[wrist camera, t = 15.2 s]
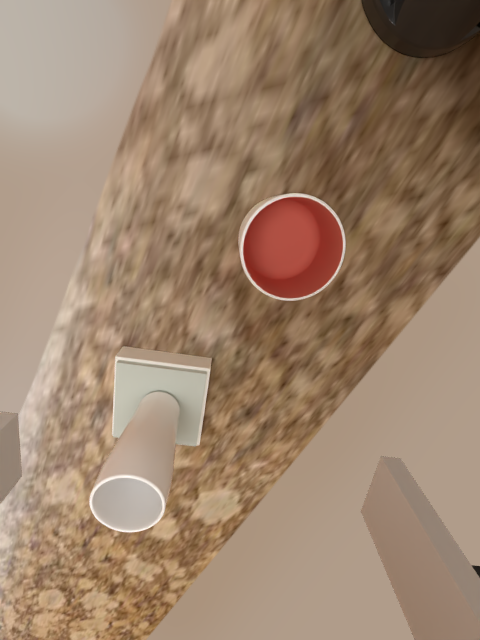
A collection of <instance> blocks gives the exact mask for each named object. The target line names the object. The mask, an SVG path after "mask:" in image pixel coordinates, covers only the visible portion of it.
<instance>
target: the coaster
mask: <svg viewBox="0 0 480 640" xmlns="http://www.w3.org/2000/svg"><path fill="white" fill-rule="evenodd" d="M211 361H212V358H208V357H201V356H193V355H186V354H179V353H171V352H164V351H156V350H149V349H141V348H134V347H126V346H123V347H122V348H121V350H120V351H119V352H118V354H117V355H116V356H115V378H114V402H113V425H112V435H113V437H118V438H119V437H120V435H121V434H122V432H123V431H124V429H125V427H126V426H127V424H128V423H129V421H130V419H131V418H132V416H133V414H134V413H135V411H136V409H137V407H138V405H139V403H140V401H141V400H142V398H143V397H145V396H146V395H147V394H149V393H152V392H165V393H168V394H170V395H171V396H173V397H174V398H175V399H176V400H177V402H178V404H179V407H180V415H179V420H178V427H177V437H176V444H179V445H188V446H196V445H200V438H201V431H202V424H203V417H204V410H205V403H206V397H207V390H208V383H209V376H210V369H211Z"/></svg>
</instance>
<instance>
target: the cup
mask: <svg viewBox="0 0 480 640" xmlns="http://www.w3.org/2000/svg"><path fill="white" fill-rule="evenodd" d="M238 245H239V252H240V259H241V263H242V267H243V269H244V272H245V274H246V276H247V277H248V279H249V280H250V282H251V283H252V284H253V285H254V286H255V287H256V288H257V289H258V290H259V291H261V292H262V293H264V294H265V295H267V296H269V297H272V298H275V299H278V300H284V301H295V300H302V299H305V298H308V297H311V296H313V295H315V294H317V293H319V292H320V291H322V290H323V289H324V288H325V287H327V286H328V285H329V284H330V283H331V281H332V280H333V279H334V278H335V276H336V275H337V273H338V272H339V270H340V268H341V265H342V263H343V259H344V255H345V248H346V240H345V233H344V229H343V226H342V224H341V221H340V219H339V218H338V216H337V214H336V213H335V212H334V211H333V209H332V208H331V207H330V206H329V205H327V204H326V203H325V202H323V201H322V200H320V199H318V198H316V197H314V196H311V195H307V194H302V193H290V194H283V195H278V196H273V197H270V198H267V199H265V200H262V201H261V202H259V203H258V204H256V205H255V206H254V207H253V208H252V209H251V210H250V211H249V212H248V213H247V215H246V216H245V218H244V220H243V222H242V224H241V227H240V230H239V236H238Z"/></svg>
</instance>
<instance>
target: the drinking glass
mask: <svg viewBox="0 0 480 640" xmlns="http://www.w3.org/2000/svg"><path fill="white" fill-rule="evenodd" d="M179 415H180V407H179V404H178V402H177V400H176V399H175V398H174V397H173V396H171V395H170V394H168V393H165V392H152V393H149V394H147V395H146V396H145V397H143V398H142V400H141V401H140V403H139V405H138V407H137V409H136V411H135V413H134V414H133V416H132V418H131V419H130V421H129V423H128V424H127V426H126V427H125V429H124V431H123V432H122V434H121V435H120V437H119V439H118V440H117V442H116V444H115V445H114V447H113V448H112V450H111V452H110V453H109V455H108V457H107V459H106V461H105V463H104V464H103V466H102V469H101V471H100V473H99V475H98V477H97V480H96V482H95V485H94V487H93V490H92V492H91V495H90V500H89V501H90V508H91V511H92V513H93V515H94V516H95V517H96V519H97V520H98V521H99V522H101V523H102V524H103V525H105V526H107V527H109V528H111V529H113V530H117V531H121V532H138V531H143V530H146V529H148V528H150V527H152V526H153V525H155V524H156V523H157V522H158V521H159V520H160V519H161V518H162V516H163V514H164V511H165V508H166V504H167V500H168V496H169V492H170V488H171V483H172V477H173V470H174V459H175V448H176V437H177V427H178V420H179Z"/></svg>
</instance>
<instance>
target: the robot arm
mask: <svg viewBox="0 0 480 640" xmlns="http://www.w3.org/2000/svg"><path fill="white" fill-rule="evenodd" d="M362 3H363V6H364V9H365V12H366V15H367V17H368V19H369V22H370V23H371V25H372V27H373V28H374V30H375V31H376V33H377V34H378V35H379V37H380V38H381V39H382V40H383V41H384V42H385V43H386V44H388V45H389V46H390V47H392V48H393V49H395V50H397V51H399V52H401V53H403V54H406V55H409V56H414V57H433V56H438V55H442V54H445V53H448V52H450V51H452V50H454V49H456V48H458V47H460V46H461V45H463V44H464V43H466V42H467V41H469V40H470V39H472V38H473V37H474V36H476V35H477V34H479V33H480V0H362ZM21 477H22V470H21V455H20V440H19V424H18V414H17V413H9V412H0V504H1V502H2V501H3V500H4V499H5V497H6V496H7V495H8V493H9V492H10V491H11V490H12V488H13V487H14V486H15V484H16V483H17V482H18V480H19V479H20V478H21ZM361 513H362V515H363V518H364V520H365V523H366V525H367V527H368V530H369V532H370V534H371V537H372V539H373V542H374V544H375V546H376V549H377V551H378V554H379V556H380V558H381V561H382V563H383V565H384V568H385V570H386V572H387V575H388V577H389V580H390V581H391V585H392V587H393V589H394V592H395V594H396V596H397V599H398V601H399V604H400V606H401V608H402V611H403V613H404V615H405V618H406V620H407V622H408V625H409V627H410V630H411V632H412V635H413V637H414V639H415V640H480V566H472V565H471V564H470V563H469V561H468V560H467V558H466V557H465V555H464V553H463V552H462V551H461V549H460V548H459V546H458V544H457V543H456V541H455V540H454V538H453V537H452V535H451V534H450V532H449V531H448V529H447V528H446V526H445V525H444V524H443V522H442V520H441V519H440V518H439V516H438V514H437V513H436V511H435V510H434V508H433V507H432V505H431V504H430V502H429V501H428V499H427V498H426V496H425V495H424V493H423V492H422V490H421V489H420V487H419V486H418V484H417V483H416V481H415V480H414V478H413V477H412V475H411V474H410V472H409V471H408V469H407V467H406V466H405V464H404V463H403V461H402V460H401V459H400V458H393V457H384V456H381V457H380V460H379V463H378V465H377V468H376V471H375V474H374V476H373V479H372V482H371V485H370V487H369V490H368V493H367V496H366V498H365V501H364V504H363V507H362V509H361Z"/></svg>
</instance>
